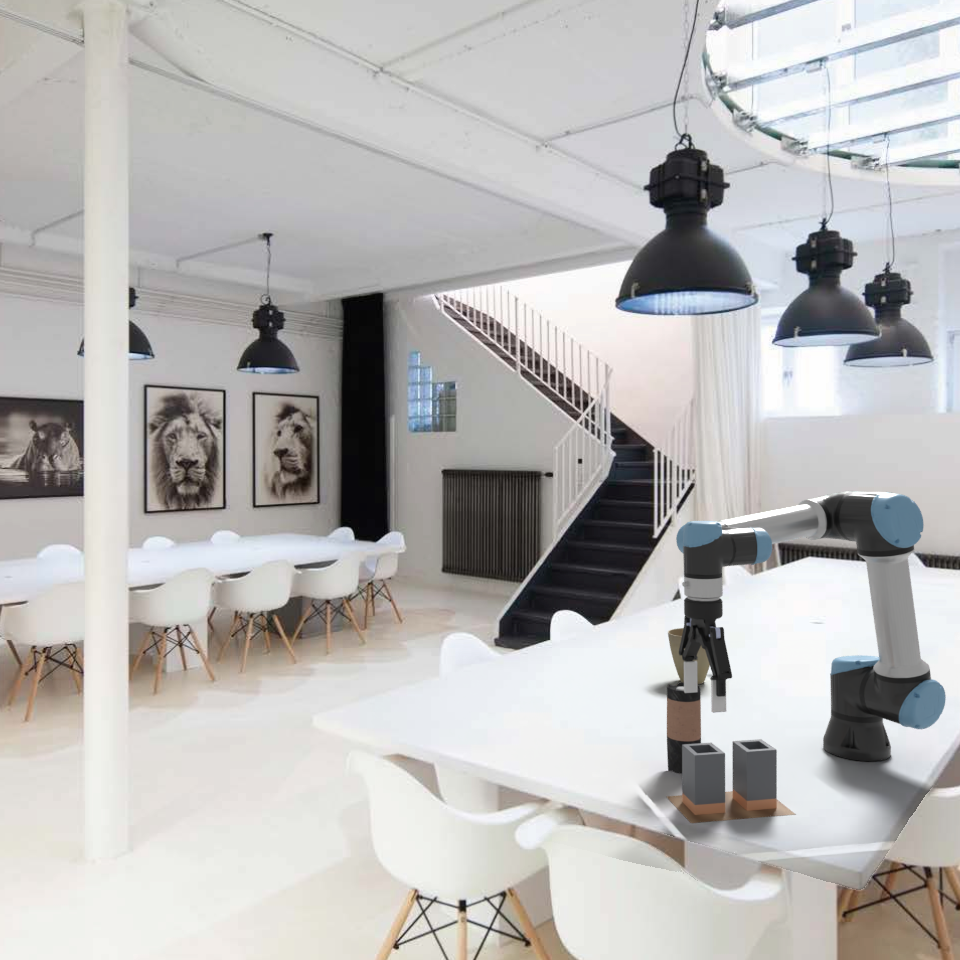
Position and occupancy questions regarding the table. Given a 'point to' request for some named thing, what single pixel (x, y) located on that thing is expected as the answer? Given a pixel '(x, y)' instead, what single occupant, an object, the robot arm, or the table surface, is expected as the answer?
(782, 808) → the pinboard
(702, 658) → the plant pot
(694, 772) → the banded sleeve
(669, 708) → the travel mug
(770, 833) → the table surface
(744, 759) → the seated sleeve
